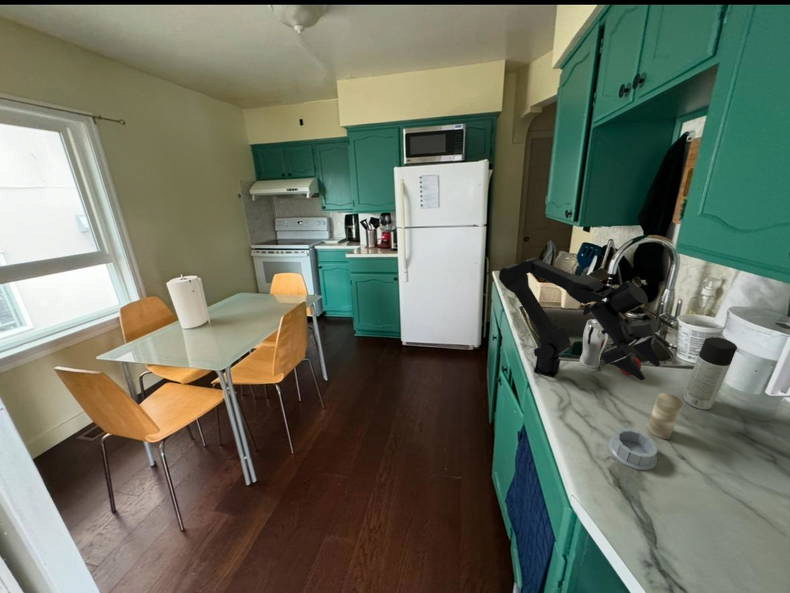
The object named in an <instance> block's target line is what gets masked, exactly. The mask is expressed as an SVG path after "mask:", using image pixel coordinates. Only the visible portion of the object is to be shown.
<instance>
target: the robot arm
mask: <svg viewBox="0 0 790 593" xmlns="http://www.w3.org/2000/svg"><path fill="white" fill-rule="evenodd" d="M528 274H532V275H534V276H536V277H538V278H541V279H542V280H544V281H546V282H548V283H551V284H552V285H555V286H557V287H559V288H561V289H563V290H565V291H566V293H567V295H568V296H569V297H571V298H572V299H573V300H575V301H576V302H578V303H579V304H582V305H584V307H583V308H584V309H583V312H582V315H583V316H587V315H588V314H591V315H592V317H594V318H595V319H596V320H597V321H598V323H599V324H600V325H601V327H602V328H603V329H604V330H602V331H601V332H602V334H605V333H607V335H608V338H609V339H610V340H611V341H612V343H611V344H610V346H611V347H610V348H609V347H608V348H607V349H606V350H605V351H602V353H601V356H600V358H601V359H602V361H603V362H604V363H605V364H606V365H608V364H609V365H610V366H615V367H617V368H618V369H619V370H620V369H622V370H624V371H626V372H628V373H629V374H631V375H633V377H634V378H636V379H637V380H640V381H645V379H646V376H645V375H644V373H643V372H642V369H641V370H640V368H639V367H638V365H637V364H636V362H635V360H634V356H635V357H636V352H635V351H637V352H638V353H639V354H640V355H641V356H642V357H643V358H645V360H647V361H648V362H649V363H651V364H652V365H653V366H655V367H659V366H661V362H660V359H659V357H658V354H657V351H656V349H655V346H654V345H655V344H654V343H655V338H657V335H656V333H658V332H659V331H660V329H659V327H658V325H659V324H660V321H659V320H658V319H657V318H656V317H655V316H654V315H653V314H652V313H645V314H643V315H642V316H641V319H637V320H632V319H631V318H630V317H629V316H626V317H624V316H623V314H627V313H629V312H632V311H634V310H636V309H638V308H640V307H641V306H643V305H645V304H647V303H648V302H649V299H648V295H647V293H646V291H644V289H643V288H642V287H640V286H638V285H637V284H634V283H632V282H631V281H630V280H627V281H625V282H623V283H622V284H621V285H620V286H618V287H613V286H610V285H607V284H605V283H603V282H602V281H601V280H599V279H597V278H593V277H590V276H584V275H575V274H573V273H570V272H568V271H566V270H563V269H561V268H559V267H556V266H554V265H552V264H550V263H547V262H545V261H542V260H541V259H540V258H538V257H531V258H530V259H529V258H528V259H526V260H524V262H521V263H519V264H518V263H515V264H514V263H513V264H511V265H509V266H506V267H503V268H501V269H500V271H499V273H498V279H499V281H500V283H501V284H502V285H503V286H504V288H505V289H506V290H508V291H510V292H511V293H513V294H514V295H515V297H516V298H517V300H518V302H519V303H520V305H521V307H522V308H523V309H524V311H525V313H526V315H527V316H528V317H529V319H530V321H531V323H532V324H533V326H534V327H535V329H536V330H537V333H538V342H539V346H537V347H536V348H534V349H533V353H534V356H535V357H536V361H535V367H534V369H533V372H534V373H536V374H540V375H543V376H546V377H551V378H555V377H556V375H557V374H558V373H559V370H560V364H561V360H562V359H561V358H560V355H562V354H563V353H565V352H566V351H567V350H569V349H570V348H571V344H572V343H571V339H570V338H571V337H570V336H569V334H567V332H566V330H565V328H564V327H563V326H560V327H557V326H556V325H554V324H553V323H552V321H551V319H550V318H549V316H548V315H547V313H546V312H545V310H544V308H543V306H542V305H541V303H540V302H539V300H538V298H537V297H536V296H535V294H534V292H533V290H531V287H530V286H529V276H528ZM605 299H607V300H605ZM632 348H633V349H634V350H635V351H634V352H633V351H632Z"/></svg>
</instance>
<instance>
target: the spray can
mask: <svg viewBox="0 0 790 593" xmlns="http://www.w3.org/2000/svg"><path fill="white" fill-rule="evenodd" d="M737 349H738V346H737V345H736V343H734V342H732V341H730V340H728V339H726V338H723V337H718V336H716V337H713V336H711V337H706V338H704V340H703V343H702V346H701V348H700V350H699V353H698V356H697V358H696V360H695V363H694V366H693V369H692V371H691V373H690V374H691V375H690V376H689V379H688V381H687V385H686V387H685V390H684V392H683V395H682V398H683V401H684V402H685V403H686V404H688V405H689V406H691V407H693V408H696V409H699V410H709V409H711V408H712V407H713V405H714V403H715V402H716V399H717V396H718V394H719V392H720V390H721V387H722V385H723V382H724V381H725V379H726V375H727V373H728V372H729V369H730V367H731V364H732V361H733V359H734V356H735V354H736V352H737Z"/></svg>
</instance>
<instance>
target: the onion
mask: <svg viewBox="0 0 790 593" xmlns="http://www.w3.org/2000/svg"><path fill="white" fill-rule="evenodd" d="M634 360H635V362H636V364H637V365H638V367H639V368H640V370H641V371H642V363H641V361H640V359H638V358H637V356H636V355H635V356H634ZM619 370H620V371H621V373H622V374H624V375H625V376H626V377H627V376H628V377H629V376H630V377H631V376H633V375H631V374H629V373H628V372H626V371H624V370H622V369H620V368H619ZM633 377H634V376H633Z"/></svg>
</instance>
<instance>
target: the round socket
mask: <svg viewBox="0 0 790 593" xmlns="http://www.w3.org/2000/svg"><path fill="white" fill-rule="evenodd" d="M607 446H608V450H609V452H610V454H611V455H612V457H614V459H616V461H618V462H619V463H621V464H622V465H624V466H627V467H629V468H631V469H634V470H637V471H650V470H652V469H654V468H655V467H656V466H657V462H658V457H657V454H658V446H657V444H656V443H655V441H654V440H653V439H652V437H650V436H649V435H647V434H645V433H644V432H642V431H640V430H637V429H633V428H630V427H627V428H626V427H625V428H622V427H621V428H618V429H617V430H616V431H615V432H614V434H613V436H612V437H611V438H610V439H609V440H608V445H607Z"/></svg>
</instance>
